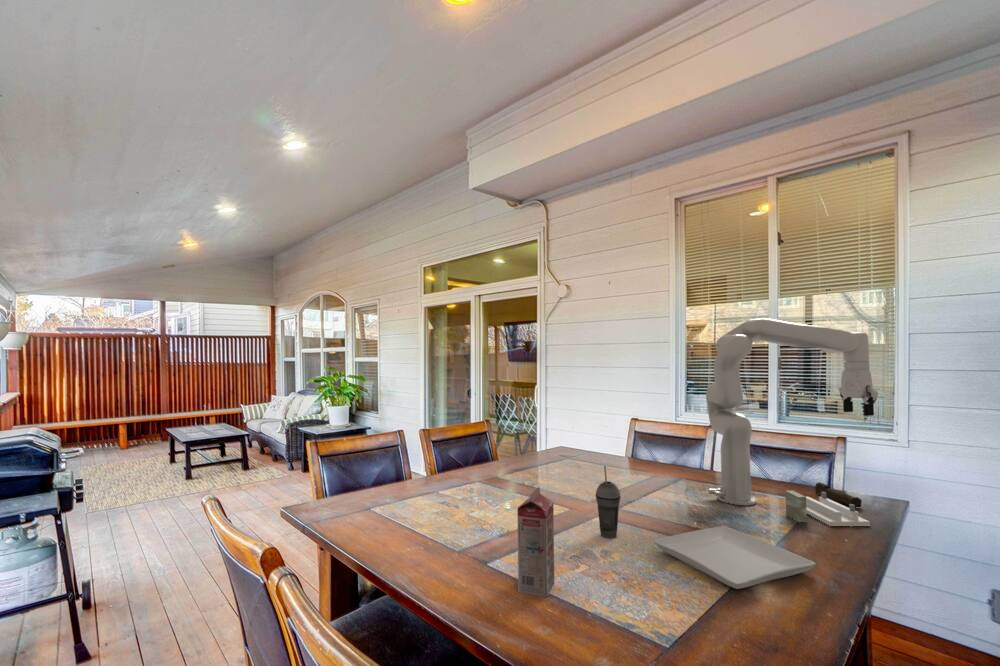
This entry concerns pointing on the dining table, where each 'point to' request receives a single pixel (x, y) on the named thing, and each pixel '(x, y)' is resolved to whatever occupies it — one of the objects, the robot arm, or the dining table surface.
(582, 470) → the dining table surface
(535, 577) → the juice carton
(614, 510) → the beverage cup
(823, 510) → the slider channel
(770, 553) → the square plate
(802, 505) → the rectangular block
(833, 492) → the hand tool
